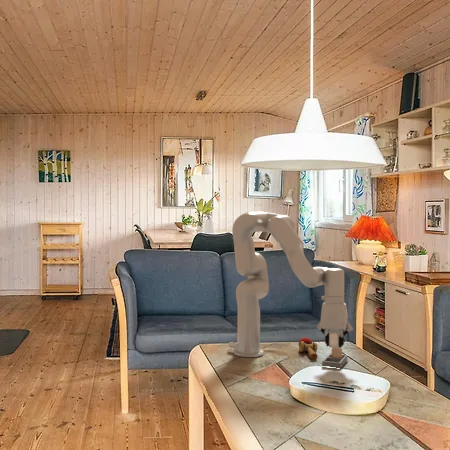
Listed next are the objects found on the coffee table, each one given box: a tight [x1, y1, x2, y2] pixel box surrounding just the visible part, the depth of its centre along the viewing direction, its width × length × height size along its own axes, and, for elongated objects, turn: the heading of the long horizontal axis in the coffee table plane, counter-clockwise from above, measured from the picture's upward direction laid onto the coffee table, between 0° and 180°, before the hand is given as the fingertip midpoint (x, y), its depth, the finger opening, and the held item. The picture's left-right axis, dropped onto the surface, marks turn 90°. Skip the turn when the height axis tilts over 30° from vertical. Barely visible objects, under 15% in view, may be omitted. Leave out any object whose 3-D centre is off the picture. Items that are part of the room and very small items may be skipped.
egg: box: [328, 330, 340, 349], centre depth 238 cm, size 4×4×6 cm
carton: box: [321, 347, 348, 369], centre depth 242 cm, size 7×13×7 cm, turn 156°
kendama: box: [298, 336, 318, 361], centre depth 257 cm, size 8×6×18 cm
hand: (334, 345), depth 238 cm, fingers closed on egg, 4 cm apart
